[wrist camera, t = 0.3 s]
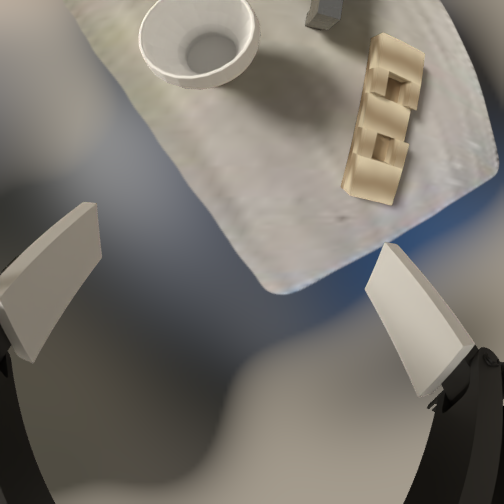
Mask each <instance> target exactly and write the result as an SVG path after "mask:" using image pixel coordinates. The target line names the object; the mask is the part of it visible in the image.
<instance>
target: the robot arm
mask: <svg viewBox="0 0 504 504" xmlns="http://www.w3.org/2000/svg"><path fill="white" fill-rule="evenodd" d="M97 214H98V213H97V203H88V202H83V203H81V204H80V205H79V206H77V207H76V208H75V209H73V210H72V211H71V212H69V213H68V214H67V215H66V216H64V217H63V218H62V219H61V220H59V221H58V222H57V223H56V224H55V225H53V226H52V227H51V228H50V229H49V230H47V231H46V232H45V233H44V234H43V235H42V236H41V237H39V238H38V239H37V240H36V241H35V242H34V243H33V244H32V245H31V246H29V247H28V248H27V249H26V250H25V251H24V252H23V253H22V254H20V255H19V256H17V257H15V258H14V259H13V260H12V261H11V262H10V263H9V264H8V265H7V267H5V268H4V269H3V270H2V272H1V274H0V504H55V502H54V500H53V498H52V496H51V494H50V492H49V490H48V488H47V486H46V484H45V481H44V479H43V477H42V475H41V472H40V470H39V467H38V465H37V462H36V460H35V457H34V455H33V451H32V449H31V446H30V443H29V440H28V436H27V433H26V430H25V426H24V423H23V420H22V415H21V411H20V407H19V403H18V398H17V394H16V388H15V383H14V377H13V371H12V363H11V357H10V354H9V353H8V349H9V348H10V346H11V345H12V347H13V349H14V351H15V352H16V354H17V355H18V357H20V358H22V359H24V360H27V361H29V362H31V363H34V361H35V359H36V357H37V355H38V354H39V352H40V350H41V348H42V346H43V345H44V343H45V341H46V339H47V338H48V336H49V334H50V332H51V331H52V329H53V328H54V326H55V324H56V323H57V321H58V320H59V318H60V316H61V315H62V313H63V312H64V310H65V308H66V307H67V306H68V304H69V303H70V301H71V300H72V298H73V297H74V295H75V294H76V292H77V291H78V289H79V288H80V286H81V285H82V284H83V282H84V281H85V279H86V278H87V277H88V275H89V274H90V272H91V271H92V270H93V268H94V267H95V266H96V265H97V263H98V262H99V261H100V259H101V258H102V253H101V244H100V235H99V225H98V215H97ZM365 291H366V292H367V294H368V296H369V298H370V300H371V301H372V303H373V305H374V307H375V309H376V310H377V313H378V315H379V316H380V318H381V320H382V322H383V324H384V326H385V328H386V330H387V332H388V334H389V336H390V338H391V340H392V342H393V344H394V346H395V348H396V350H397V352H398V354H399V356H400V358H401V360H402V363H403V365H404V367H405V369H406V371H407V373H408V375H409V378H410V380H411V382H412V384H413V387H414V389H415V392H416V394H417V396H418V397H423V396H427V395H431V394H432V393H433V392H434V391H435V390H436V389H437V388H438V387H439V386H440V385H442V387H443V389H444V390H443V391H442V392H441V393H440V394H439V395H438V396H437V397H436V398H435V399H434V400H433V401H432V402H431V403H430V404H429V405H428V407H427V408H428V409H430V407H432V406H433V405H434V404H437V406H435V407H434V408H433V409H432V411H434V412H435V414H434V419H433V423H432V427H431V430H430V434H429V437H428V441H427V444H426V448H425V450H424V453H423V456H422V459H421V462H420V465H419V468H418V471H417V473H416V476H415V478H414V481H413V483H412V485H411V488H410V491H409V492H408V495H407V497H406V499H405V501H404V503H403V504H504V406H503V399H504V362H500V361H499V359H498V358H497V356H496V355H495V354H494V353H493V352H492V351H491V350H490V349H488V348H485V347H481V348H480V349H478V348H477V347H476V345H475V343H474V341H473V340H472V338H471V337H470V336H469V334H468V332H467V331H466V330H465V328H464V327H463V325H462V324H461V322H460V321H459V320H458V319H457V317H456V316H455V314H454V313H453V311H452V310H451V309H450V308H449V306H448V305H447V303H446V302H445V301H444V300H443V298H442V297H441V296H440V294H439V293H438V292H437V291H436V289H435V288H434V287H433V286H432V285H431V283H430V282H429V281H428V279H427V278H426V277H425V276H424V275H423V273H422V272H421V271H420V270H419V269H418V268H417V266H416V265H415V264H414V263H413V262H412V261H411V259H410V258H409V257H408V256H407V255H406V254H405V253H404V252H403V250H402V249H401V248H400V247H399V246H398V245H397V244H392V243H386V242H385V243H384V246H383V248H382V251H381V253H380V256H379V258H378V261H377V263H376V265H375V267H374V270H373V272H372V274H371V277H370V279H369V281H368V283H367V286H366V288H365Z"/></svg>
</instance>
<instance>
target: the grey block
mask: <svg viewBox="0 0 504 504" xmlns="http://www.w3.org/2000/svg"><path fill="white" fill-rule="evenodd" d="M342 5H343V0H312V1H311V7H310V11H309V12H308V13H307V17H306V23H305V26H307V27H311V28H315V29H319V30H321V29H325V30H329V29H330V28H331V27H332V26H333V25H335V24H336V23H337V22H338V21H339V20H340V19H341V12H342Z"/></svg>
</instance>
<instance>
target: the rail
mask: <svg viewBox="0 0 504 504" xmlns="http://www.w3.org/2000/svg"><path fill="white" fill-rule="evenodd" d="M424 57H425V53H423V52H421V51H419V50H418V49H416V48H414V47H412V46H410V45H408V44H406V43H404V42H402V41H400V40H398V39H396V38H394V37H392V36H390V35H388V34H386V33H381V34H379V35H377V36H374V37H372V38H371V41H370V48H369V55H368V62H367V68H366V74H365V80H364V85H363V91H362V96H361V101H360V106H359V111H358V116H357V121H356V126H355V130H354V135H353V139H352V144H351V148H350V152H349V156H348V160H347V164H346V168H345V172H344V176H343V180H342V184H341V188H342V189H344V190H345V191H346V192H347V193H348V194H349V195H350V196H354V197H359V198H363V199H367V200H372V201H376V202H380V203H384V204H388V205H392V203H393V200H394V197H395V194H396V190H397V187H398V184H399V180H400V177H401V173H402V170H403V166H404V163H405V159H406V155H407V151H408V147H409V144H408V143H405V142H404V139H405V135H406V131H407V126H408V121H409V116H410V111H411V110H417V105H418V100H419V94H420V88H421V81H422V74H423V66H424Z"/></svg>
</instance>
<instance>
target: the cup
mask: <svg viewBox="0 0 504 504" xmlns="http://www.w3.org/2000/svg"><path fill="white" fill-rule="evenodd" d="M260 36H261V32H260V24H259V20H258V18H257V16H256V14H255V12H254V10H253V9H252V7H251V6H250V5H249V3H248V2H247V1H246V0H158V1H157V2H156V3H155V4H154V5H153V6H152V8H151V9H150V10H149V11H148V12H147V14H146V16H145V18H144V19H143V21H142V23H141V27H140V31H139V48H140V50H141V53H142V55H143V58H144V60H145V62H146V63H147V65H148V67H149V68H150V69H151V70H152V71H153V73H154V74H155V75H156V76H158V77H159V78H161V79H162V80H164V81H165V82H167V83H170V84H173V85H176V86H179V87H182V88H186V89H199V90H201V89H207V88H214V87H217V86H220V85H222V84H225V83H228V82H230V81H231V80H233V79H234V78H236V77H237V76H239V75H240V74H242V73H243V71H244V70H245V69H246V68H247V67H248V66H249V65H250V64H251V62H252V60H253V59H254V57H255V55H256V53H257V50H258V46H259V41H260Z"/></svg>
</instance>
